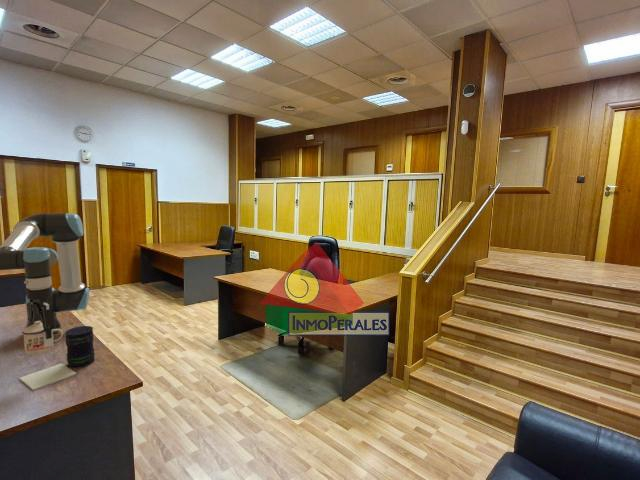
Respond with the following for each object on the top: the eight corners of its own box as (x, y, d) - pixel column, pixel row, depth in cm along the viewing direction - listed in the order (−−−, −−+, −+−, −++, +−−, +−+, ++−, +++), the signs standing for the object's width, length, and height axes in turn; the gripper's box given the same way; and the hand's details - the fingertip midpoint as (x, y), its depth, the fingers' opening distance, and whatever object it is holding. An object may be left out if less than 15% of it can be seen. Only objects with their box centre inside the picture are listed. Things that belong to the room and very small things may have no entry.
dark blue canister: (63, 369, 137) (61, 336, 136) (71, 359, 147) (69, 327, 145) (91, 366, 141) (89, 333, 139) (97, 355, 150) (95, 324, 148)
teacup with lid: (23, 357, 122) (20, 327, 120) (25, 348, 129) (22, 320, 127) (64, 349, 129) (61, 321, 128) (63, 341, 136) (61, 314, 135)
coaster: (19, 379, 130) (19, 377, 130) (61, 364, 142) (61, 363, 142) (33, 390, 122) (33, 389, 122) (76, 374, 134) (76, 373, 134)
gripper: (16, 285, 129) (21, 339, 131) (38, 294, 117) (42, 353, 120) (40, 281, 135) (44, 333, 138) (63, 289, 124) (67, 346, 126)
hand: (43, 343), depth 129 cm, fingers closed on teacup with lid, 9 cm apart
